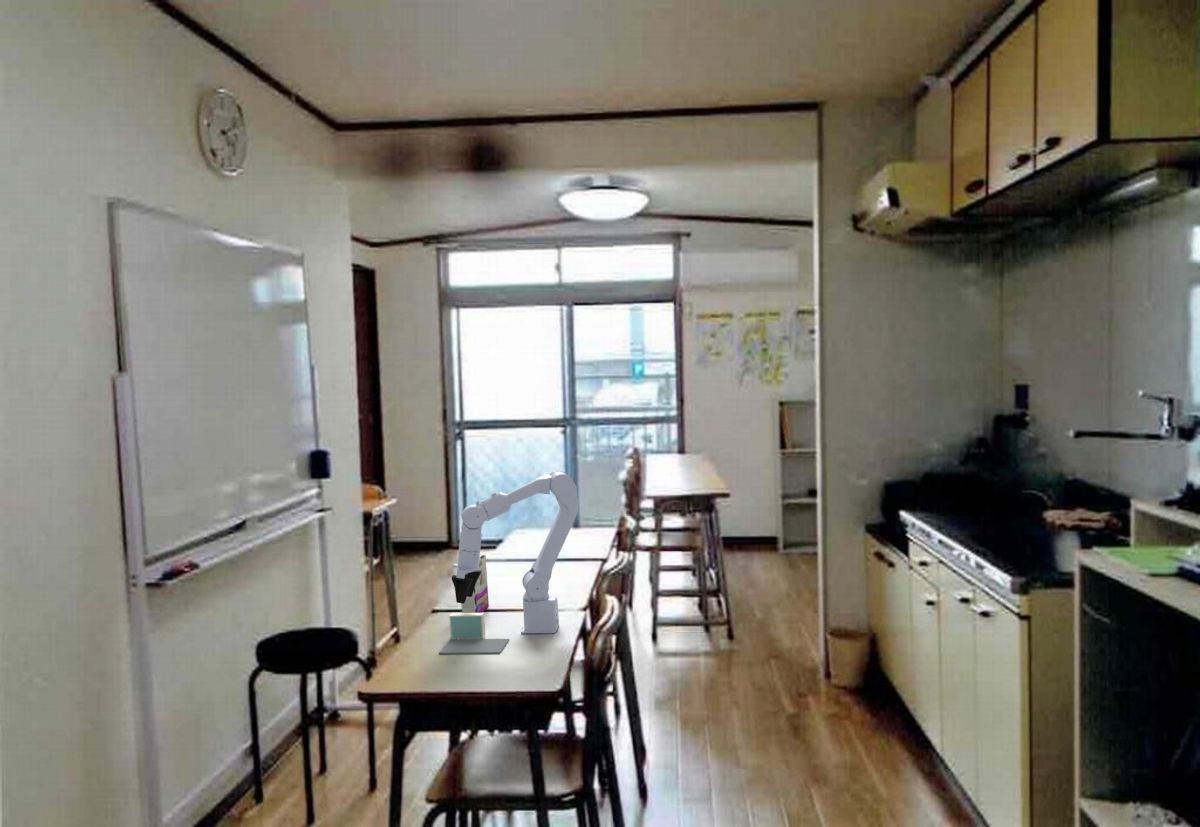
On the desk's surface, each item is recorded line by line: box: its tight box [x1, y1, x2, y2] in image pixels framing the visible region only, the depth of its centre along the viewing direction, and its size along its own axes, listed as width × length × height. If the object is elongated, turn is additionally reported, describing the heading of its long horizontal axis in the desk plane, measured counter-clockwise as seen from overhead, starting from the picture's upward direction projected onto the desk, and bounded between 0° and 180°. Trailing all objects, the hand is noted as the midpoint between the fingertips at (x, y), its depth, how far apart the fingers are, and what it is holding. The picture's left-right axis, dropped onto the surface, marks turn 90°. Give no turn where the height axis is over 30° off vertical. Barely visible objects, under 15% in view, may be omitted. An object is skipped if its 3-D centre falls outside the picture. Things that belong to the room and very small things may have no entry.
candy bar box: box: [460, 553, 490, 613], centre depth 262 cm, size 11×5×16 cm, turn 168°
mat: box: [438, 638, 510, 655], centre depth 229 cm, size 16×11×1 cm
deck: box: [449, 612, 486, 639], centre depth 238 cm, size 9×2×6 cm, turn 84°
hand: (464, 599), depth 238 cm, fingers open, 7 cm apart
